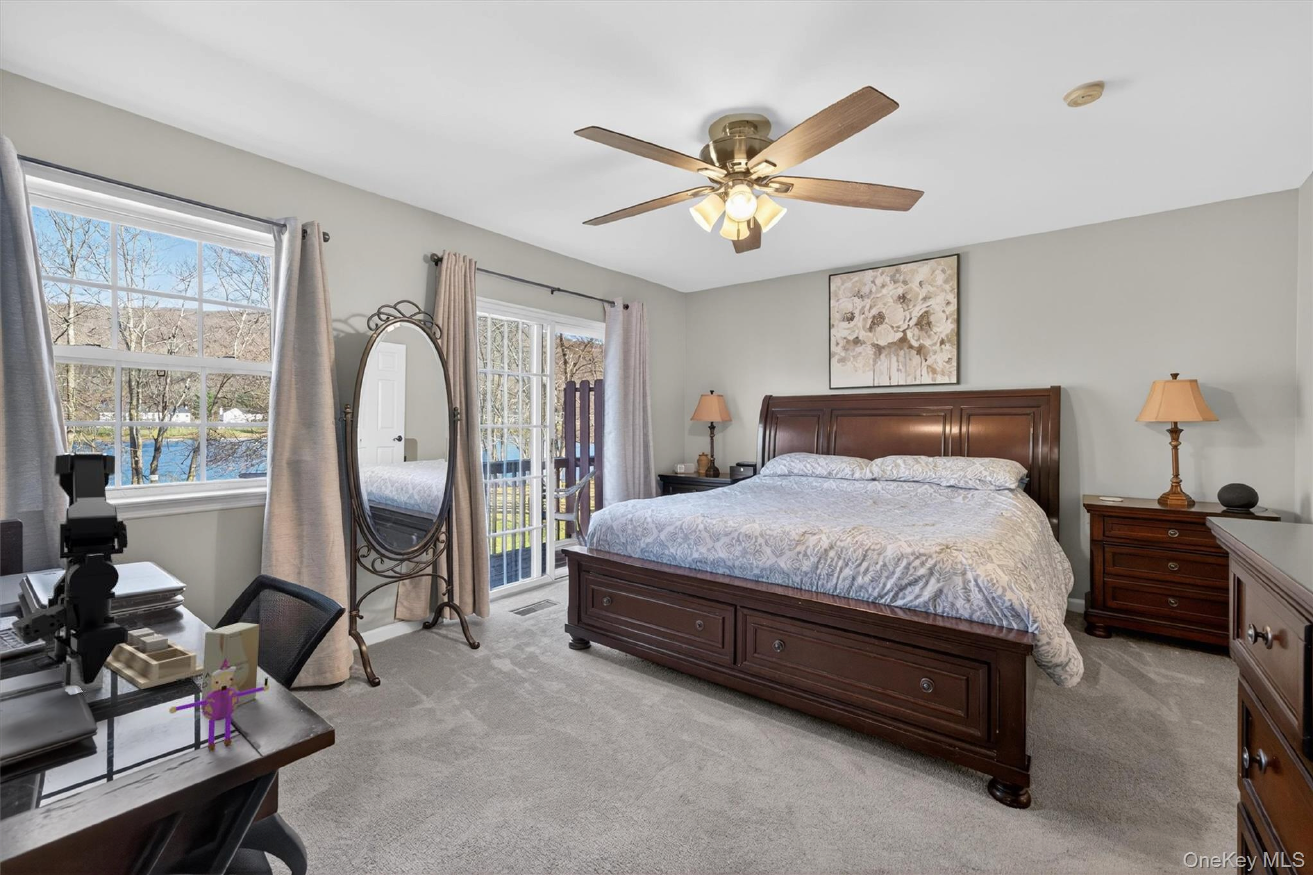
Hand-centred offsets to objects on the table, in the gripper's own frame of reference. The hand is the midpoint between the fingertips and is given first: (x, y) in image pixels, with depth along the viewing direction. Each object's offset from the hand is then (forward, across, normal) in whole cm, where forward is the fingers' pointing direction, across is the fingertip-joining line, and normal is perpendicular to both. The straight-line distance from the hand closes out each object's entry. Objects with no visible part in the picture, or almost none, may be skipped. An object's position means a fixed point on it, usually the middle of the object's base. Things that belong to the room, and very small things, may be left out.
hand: (84, 680), depth 99 cm
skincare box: (+2, +26, +12) cm, 28 cm away
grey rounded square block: (+2, 0, 0) cm, 2 cm away
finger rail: (+2, -3, +10) cm, 11 cm away
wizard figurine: (+2, +40, +5) cm, 40 cm away
